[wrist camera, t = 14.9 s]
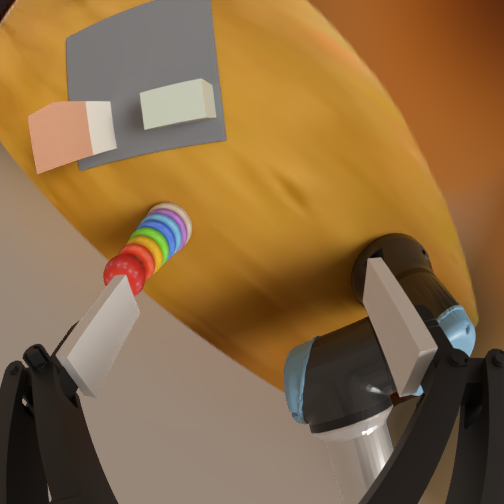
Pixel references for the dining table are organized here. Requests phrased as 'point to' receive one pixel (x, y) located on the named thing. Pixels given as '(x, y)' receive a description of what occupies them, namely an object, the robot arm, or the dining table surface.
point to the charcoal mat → (146, 72)
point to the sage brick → (177, 104)
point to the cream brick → (100, 126)
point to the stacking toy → (151, 245)
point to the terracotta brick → (59, 134)
